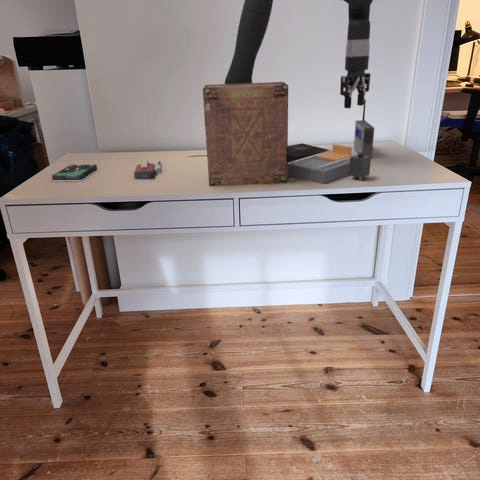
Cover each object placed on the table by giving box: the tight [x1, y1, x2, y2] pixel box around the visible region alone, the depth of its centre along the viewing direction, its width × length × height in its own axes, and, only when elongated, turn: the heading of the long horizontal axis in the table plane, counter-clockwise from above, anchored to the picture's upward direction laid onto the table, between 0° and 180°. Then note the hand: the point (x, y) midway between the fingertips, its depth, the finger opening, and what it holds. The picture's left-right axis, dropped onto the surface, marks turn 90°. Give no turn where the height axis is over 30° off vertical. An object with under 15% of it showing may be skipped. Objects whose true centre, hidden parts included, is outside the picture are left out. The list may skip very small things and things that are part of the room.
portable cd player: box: [287, 143, 332, 163], centre depth 168 cm, size 16×17×4 cm
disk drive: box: [51, 164, 98, 181], centre depth 158 cm, size 10×3×15 cm
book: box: [202, 81, 289, 187], centre depth 139 cm, size 25×9×30 cm, turn 91°
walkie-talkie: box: [133, 160, 162, 180], centre depth 158 cm, size 9×4×20 cm
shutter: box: [315, 143, 353, 162], centre depth 151 cm, size 9×10×3 cm
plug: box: [348, 152, 372, 181], centre depth 141 cm, size 5×5×8 cm
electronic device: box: [353, 98, 375, 159], centre depth 169 cm, size 17×7×20 cm, turn 177°
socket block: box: [287, 149, 356, 185], centre depth 150 cm, size 16×22×5 cm
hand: (354, 106), depth 151 cm, fingers open, 7 cm apart
